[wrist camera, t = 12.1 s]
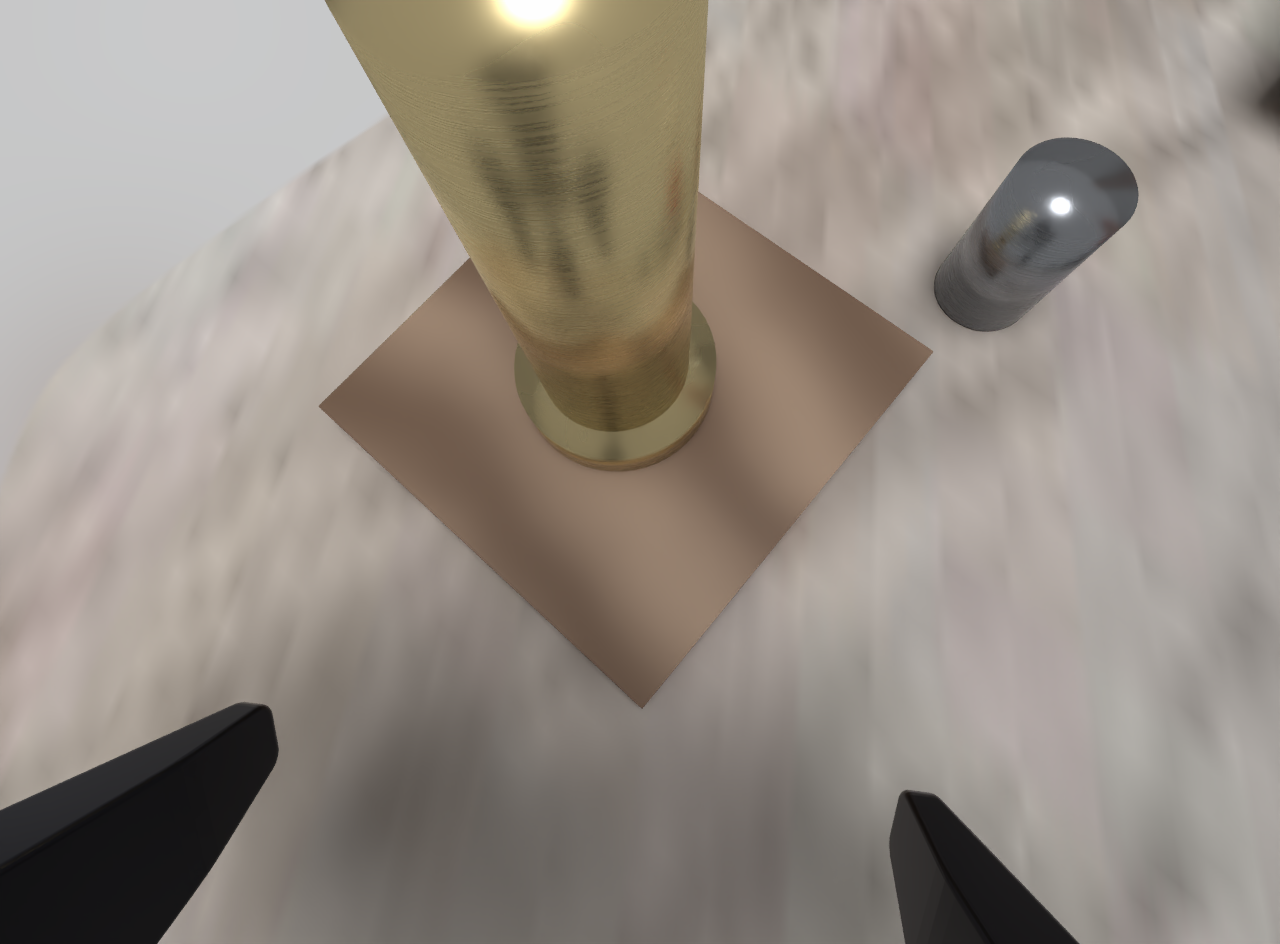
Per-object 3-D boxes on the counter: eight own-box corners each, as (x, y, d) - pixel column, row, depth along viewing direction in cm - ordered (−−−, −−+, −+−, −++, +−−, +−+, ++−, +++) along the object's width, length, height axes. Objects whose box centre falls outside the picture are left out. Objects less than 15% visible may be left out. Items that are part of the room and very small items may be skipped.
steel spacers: (1443, 1081, 15) (1818, 1303, 10) (736, 509, 19) (756, 470, 14) (1680, 604, 17) (2076, 596, 12) (999, 196, 22) (1092, 72, 17)
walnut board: (644, 702, 18) (642, 708, 17) (343, 421, 21) (318, 406, 19) (914, 371, 20) (933, 351, 19) (607, 158, 23) (603, 127, 22)
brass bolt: (691, 489, 18) (728, 189, 5) (503, 449, 19) (150, 98, 6) (730, 314, 19) (831, -254, 7) (553, 282, 20) (348, -291, 7)
